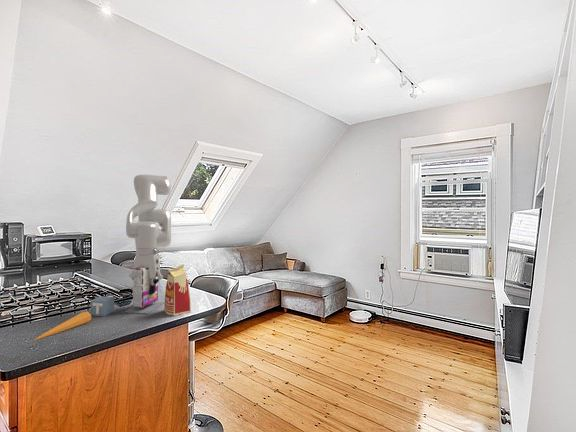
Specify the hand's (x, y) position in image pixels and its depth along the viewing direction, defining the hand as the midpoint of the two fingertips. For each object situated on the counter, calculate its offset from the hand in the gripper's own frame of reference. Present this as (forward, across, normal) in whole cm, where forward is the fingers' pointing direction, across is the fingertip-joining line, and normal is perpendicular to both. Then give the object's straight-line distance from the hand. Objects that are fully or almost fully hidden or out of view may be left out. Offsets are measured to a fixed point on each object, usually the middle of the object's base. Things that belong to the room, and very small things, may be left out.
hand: (145, 292), depth 140 cm
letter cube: (+7, +13, +10) cm, 18 cm away
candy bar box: (+5, 0, 0) cm, 5 cm away
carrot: (+7, +15, +28) cm, 33 cm away
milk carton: (+7, -15, +2) cm, 17 cm away
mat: (+6, 0, 0) cm, 6 cm away
